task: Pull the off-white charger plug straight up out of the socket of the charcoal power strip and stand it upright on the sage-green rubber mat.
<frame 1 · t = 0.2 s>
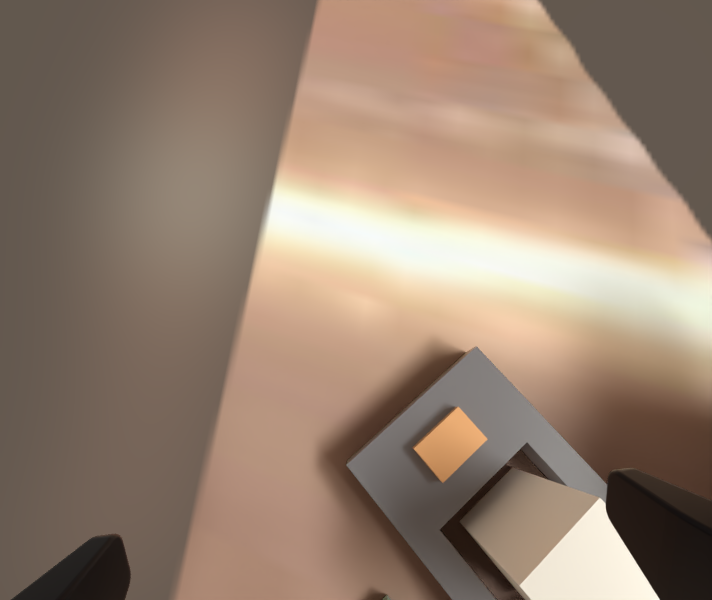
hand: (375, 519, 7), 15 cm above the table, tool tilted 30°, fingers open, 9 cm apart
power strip: (573, 595, 20), on the table
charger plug: (514, 526, 20), resting in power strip
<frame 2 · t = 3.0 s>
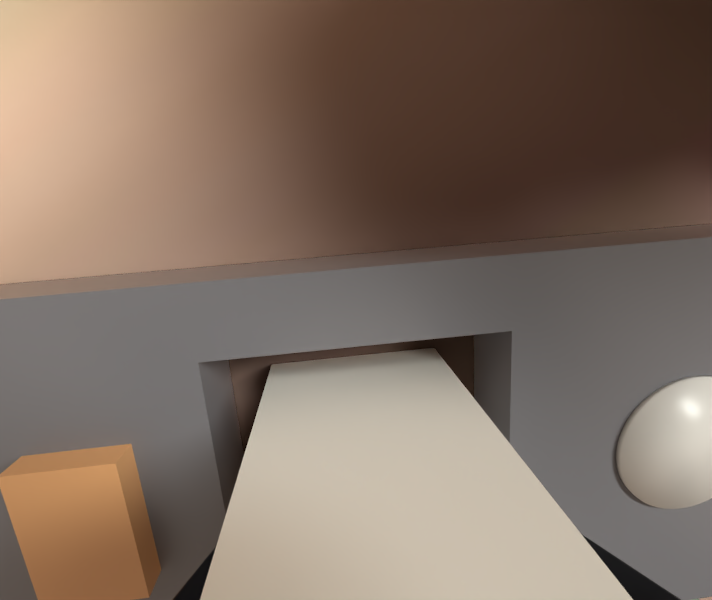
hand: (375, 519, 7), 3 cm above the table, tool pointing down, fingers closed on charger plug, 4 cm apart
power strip: (511, 412, 10), on the table
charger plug: (359, 428, 10), resting in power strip, touching gripper
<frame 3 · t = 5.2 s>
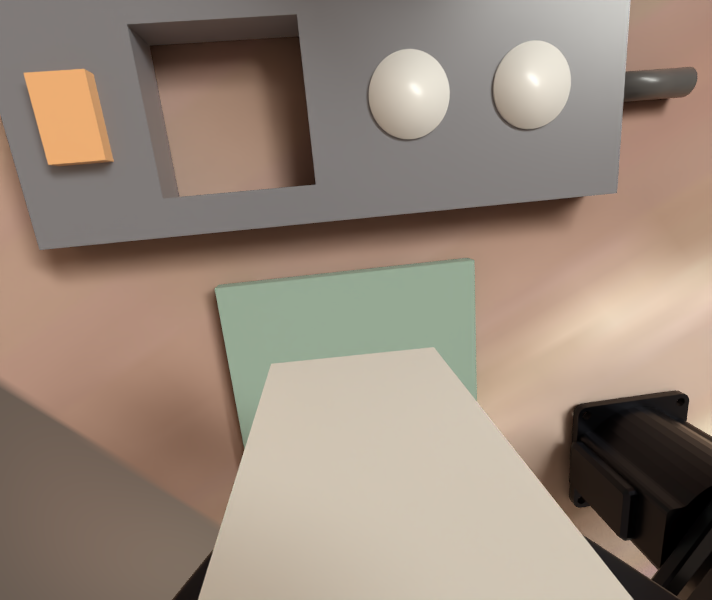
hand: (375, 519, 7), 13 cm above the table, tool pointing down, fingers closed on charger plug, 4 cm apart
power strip: (330, 112, 17), on the table
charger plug: (359, 428, 10), point 10 cm above the table, touching gripper
green mat: (355, 367, 20), on the table
when the fingers open (5 cm above the table, at t = 7.7 s): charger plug drops 1 cm, resting on green mat.
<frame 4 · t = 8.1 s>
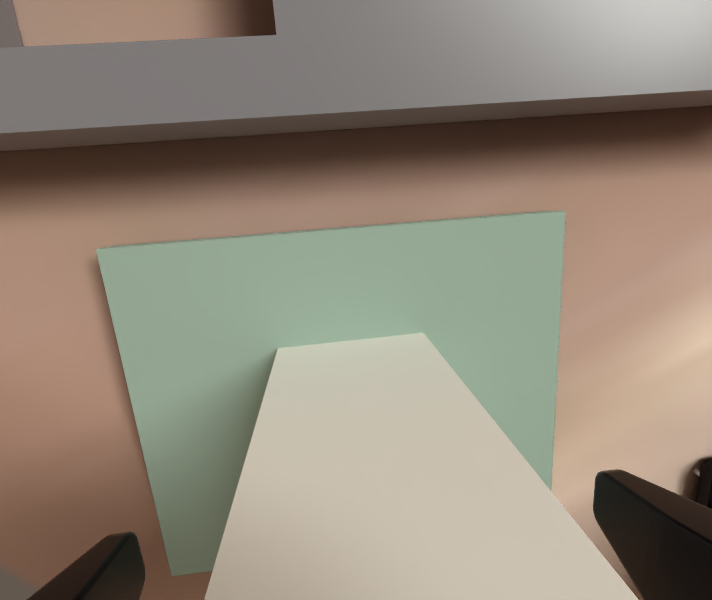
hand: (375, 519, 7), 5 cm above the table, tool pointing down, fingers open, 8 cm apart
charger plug: (357, 406, 11), point 1 cm above the table, touching green mat
green mat: (352, 393, 12), on the table
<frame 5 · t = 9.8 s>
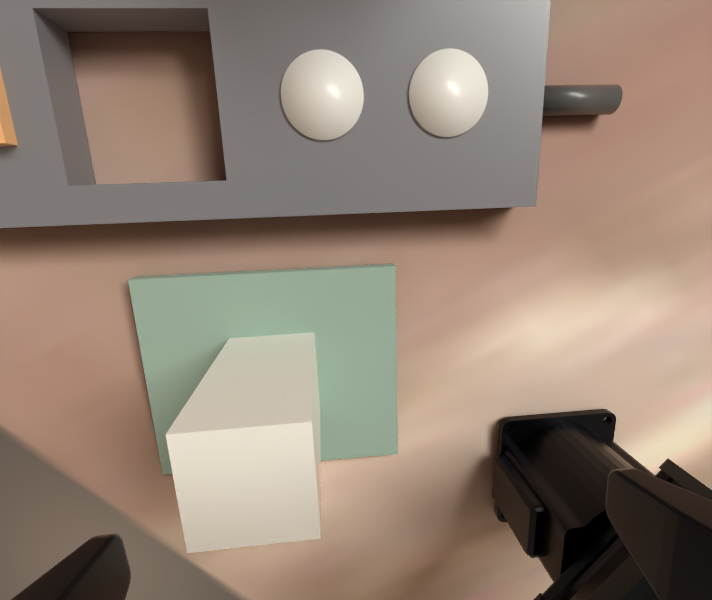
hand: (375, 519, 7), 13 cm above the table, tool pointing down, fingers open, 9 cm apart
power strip: (252, 109, 17), on the table
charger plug: (276, 374, 19), point 1 cm above the table, touching green mat
green mat: (276, 367, 20), on the table
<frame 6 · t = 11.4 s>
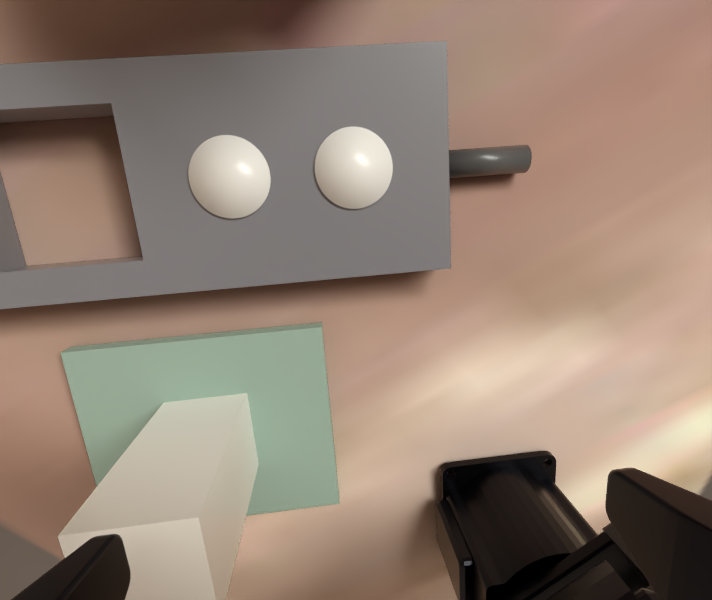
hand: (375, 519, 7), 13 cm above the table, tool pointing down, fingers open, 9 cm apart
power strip: (172, 185, 18), on the table
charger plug: (212, 434, 20), point 1 cm above the table, touching green mat
green mat: (215, 425, 21), on the table
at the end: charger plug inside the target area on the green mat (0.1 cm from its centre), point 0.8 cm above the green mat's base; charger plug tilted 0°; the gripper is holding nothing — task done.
